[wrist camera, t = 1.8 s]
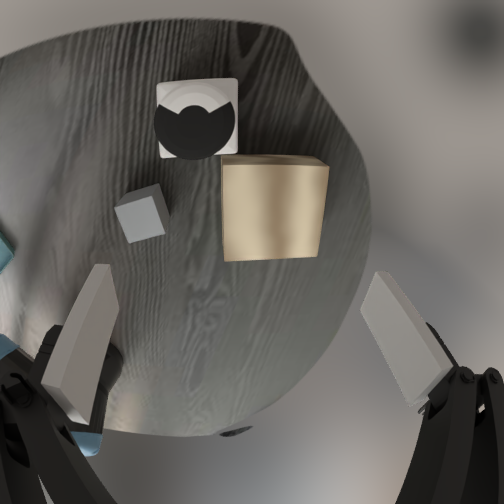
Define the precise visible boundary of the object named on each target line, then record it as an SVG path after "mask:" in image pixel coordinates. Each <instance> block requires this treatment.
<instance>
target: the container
mask: <svg viewBox="0 0 504 504" xmlns="http://www.w3.org/2000/svg"><path fill="white" fill-rule="evenodd" d="M154 128H155V133H156V136H157V138H158V140H159V148H160V156H161V157H162V158H170V157H179V158H182V159H188V160H198V159H203V158H207V157H210V156H212V155H214V154H234V153H236V152H237V150H238V81H237V79H235V78H215V79H196V80H183V81H172V82H163V83H159V84H158V85H157V109H156V112H155V117H154Z"/></svg>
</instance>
